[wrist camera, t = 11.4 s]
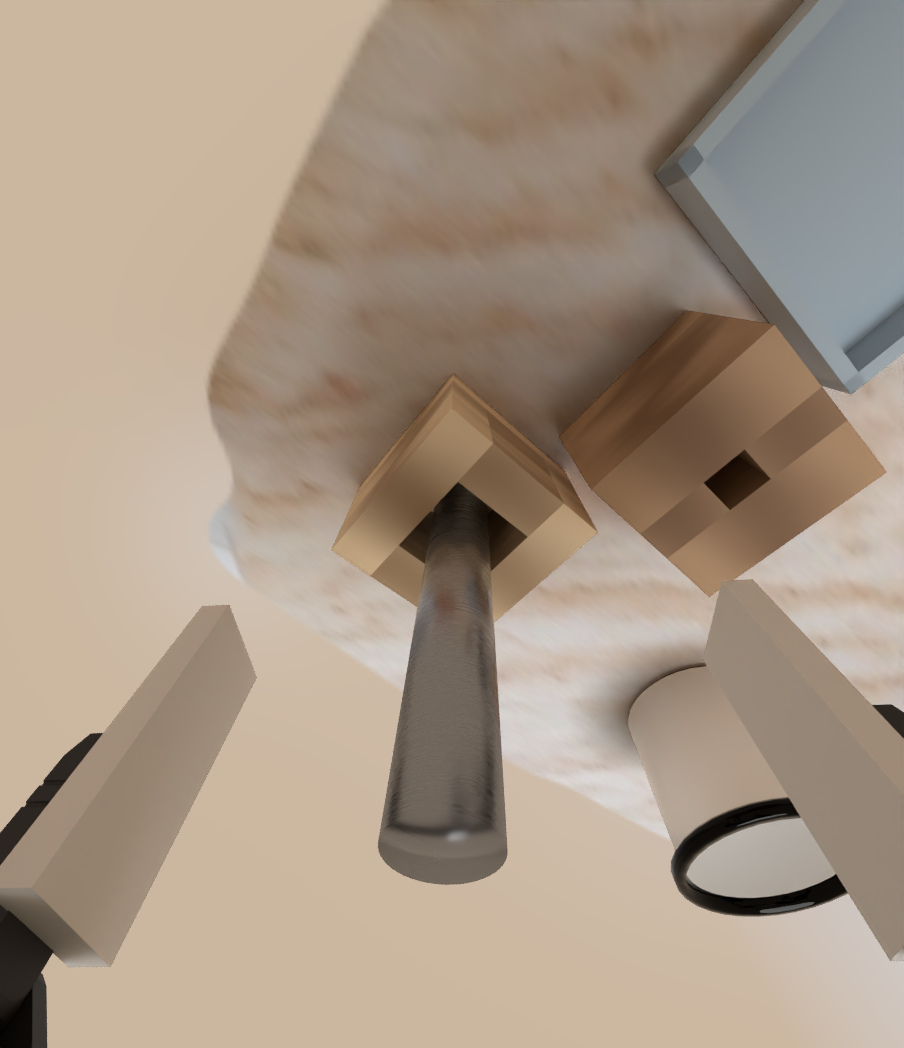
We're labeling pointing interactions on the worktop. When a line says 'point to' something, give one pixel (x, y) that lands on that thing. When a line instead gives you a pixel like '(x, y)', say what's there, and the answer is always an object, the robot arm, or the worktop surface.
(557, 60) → the worktop surface
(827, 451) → the walnut block
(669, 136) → the worktop surface
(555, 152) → the worktop surface
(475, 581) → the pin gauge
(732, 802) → the mug
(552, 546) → the oak block
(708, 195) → the tray
